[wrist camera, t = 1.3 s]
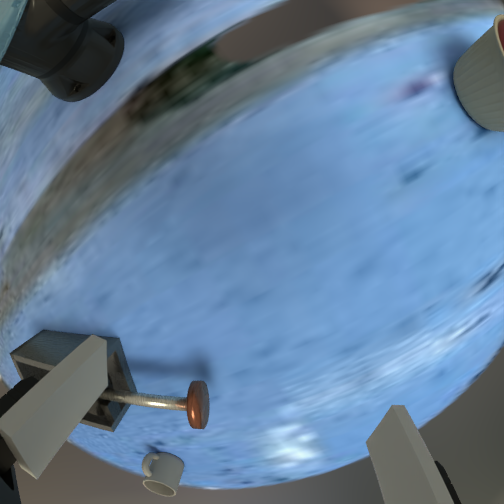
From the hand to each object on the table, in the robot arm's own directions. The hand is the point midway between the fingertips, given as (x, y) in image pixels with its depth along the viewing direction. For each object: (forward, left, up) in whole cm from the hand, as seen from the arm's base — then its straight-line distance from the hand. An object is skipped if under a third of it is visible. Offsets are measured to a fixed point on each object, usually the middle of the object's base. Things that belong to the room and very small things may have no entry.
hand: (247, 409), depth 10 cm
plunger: (-4, -25, -23) cm, 34 cm away
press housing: (-17, -35, -27) cm, 47 cm away
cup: (+7, -50, -27) cm, 57 cm away
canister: (+15, +44, -27) cm, 54 cm away
